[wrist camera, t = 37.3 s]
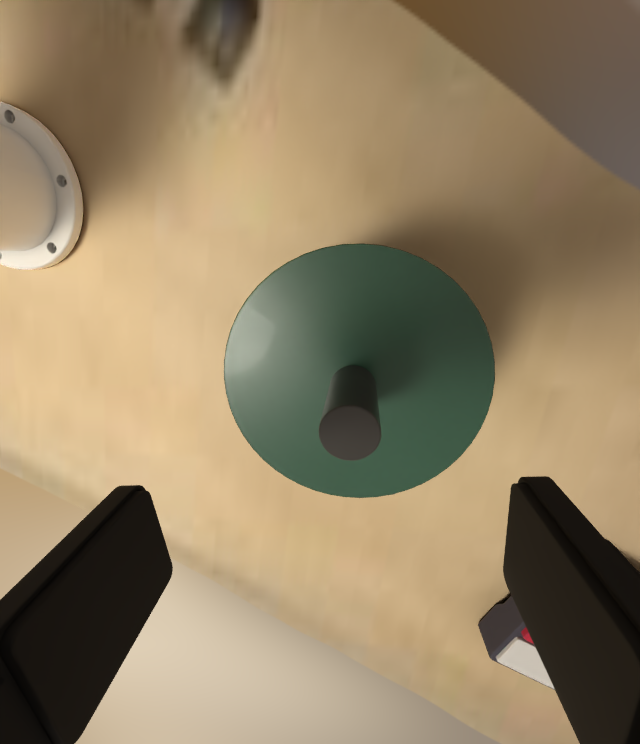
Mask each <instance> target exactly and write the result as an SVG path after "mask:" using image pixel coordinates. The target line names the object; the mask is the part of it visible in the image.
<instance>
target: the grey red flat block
mask: <svg viewBox="0 0 640 744" xmlns="http://www.w3.org/2000/svg"><path fill="white" fill-rule="evenodd" d="M639 574H640V572H639ZM478 626H479V629H480V632H481V634H482V637H483V640H484V643H485V646H486V648H487V651H488V654H489V657H490V658H491V659H492V660H494V661H496V662H498V663H500V664H502V665H504V666H506V667H508V668H510V669H512V670H514V671H516V672H518V673H521V674H523V675H525V676H527V677H529V678H531V679H533V680H535V681H537V682H539V683H541V684H543V685H545V686H547V687H550V688H552V689H554V686H553V684H552V682H551V680H550V678H549V676H548V673H547V671H546V669H545V667H544V665H543V663H542V660H541V658H540V656H539V654H538V652H537V650H536V647H535V645H534V643H533V641H532V639H531V637H530V634H529V632H528V630H527V628H526V626H525V624H524V621H523V619H522V617H521V615H520V613H519V611H518V608H517V606H516V604H515V602H514V600H513V598H512V596H510V597H509V598H508V599H507V601H506V602H505V603H503V604H496V605H495V606H494V607H493V608H492V609H491V610H490V611H489V612H488V613H487V615H486V616H485V617H484V618H483V619H482V620H481V621H480V622H479V624H478ZM554 690H555V689H554Z"/></svg>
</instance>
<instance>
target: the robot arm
mask: <svg viewBox="0 0 640 744" xmlns="http://www.w3.org/2000/svg"><path fill="white" fill-rule="evenodd" d="M82 220H83V201H82V192H81V188H80V184H79V180H78V177H77V174H76V172H75V169H74V167H73V164H72V162H71V160H70V158H69V157H68V155H67V153H66V152H65V150H64V148H63V146H62V145H61V144H60V143H59V141H58V140H57V139H56V138H55V136H54V135H53V134H52V133H51V132H50V131H49V130H48V129H47V128H46V127H45V126H44V125H43V124H42V123H41V122H40V121H38V120H37V119H35V118H34V117H32V116H31V115H29V114H28V113H26V112H25V111H23V110H20V109H18V108H16V107H14V106H12V105H9V104H7V103H3V102H0V264H1V265H4V266H6V267H10V268H15V269H19V270H35V269H43V268H47V267H50V266H53V265H55V264H57V263H59V262H60V261H61V260H63V259H64V258H65V257H66V256H67V255H68V254H69V253H70V252H71V250H72V249H73V248H74V246H75V244H76V242H77V240H78V238H79V234H80V231H81V227H82ZM172 568H173V567H172V562H171V559H170V556H169V553H168V549H167V546H166V543H165V540H164V537H163V533H162V530H161V527H160V524H159V521H158V517H157V514H156V511H155V508H154V504H153V501H152V498H151V495H150V493H149V492H148V491H146V490H145V488H144V487H143V486H140V485H134V486H119V487H117V488H115V489H114V490H113V491H112V492H111V493H110V494H109V495H108V496H107V497H106V498H105V499H104V500H103V501H102V502H101V503H100V504H99V505H98V506H97V507H96V508H95V509H94V510H93V511H91V512H90V513H89V514H88V515H87V516H86V517H85V518H84V519H83V520H82V521H81V522H80V523H79V524H78V525H77V526H76V527H75V528H74V529H73V530H72V531H71V532H70V533H69V534H68V535H67V536H66V537H65V538H64V539H63V540H62V541H61V542H60V543H58V544H57V545H56V546H55V547H54V548H53V549H52V550H51V551H50V552H49V553H48V554H47V555H46V556H45V557H44V558H43V559H42V560H41V561H40V562H39V563H38V564H37V565H36V566H35V567H34V568H33V569H32V570H31V571H30V572H29V573H28V574H27V575H25V577H23V578H22V579H21V580H20V581H19V582H18V583H17V584H16V585H15V586H14V587H13V588H12V589H11V590H10V591H9V592H8V593H7V594H6V595H5V596H4V597H3V598H2V599H1V600H0V744H74V743H75V742H76V741H77V740H78V739H79V737H80V736H81V735H82V733H83V731H84V730H85V728H86V726H87V724H88V723H89V721H90V719H91V717H92V716H93V714H94V712H95V710H96V709H97V707H98V705H99V703H100V702H101V700H102V698H103V696H104V695H105V693H106V691H107V689H108V688H109V686H110V684H111V682H112V681H113V679H114V677H115V675H116V674H117V672H118V670H119V668H120V667H121V665H122V663H123V661H124V659H125V658H126V656H127V654H128V653H129V651H130V649H131V647H132V646H133V644H134V642H135V640H136V638H137V637H138V635H139V633H140V631H141V630H142V628H143V626H144V624H145V623H146V621H147V619H148V617H149V616H150V614H151V612H152V610H153V609H154V607H155V605H156V603H157V602H158V600H159V598H160V596H161V595H162V593H163V591H164V589H165V588H166V586H167V584H168V582H169V580H170V578H171V575H172ZM503 572H504V578H505V581H506V584H507V587H508V589H509V591H510V593H511V596H512V598H513V600H514V602H515V604H516V606H517V608H518V611H519V613H520V615H521V617H522V619H523V621H524V624H525V626H526V628H527V630H528V632H529V634H530V637H531V639H532V641H533V643H534V645H535V647H536V650H537V652H538V654H539V656H540V658H541V660H542V663H543V665H544V667H545V669H546V671H547V673H548V676H549V678H550V680H551V682H552V684H553V686H554V689H555V691H556V693H557V695H558V697H559V699H560V701H561V704H562V706H563V708H564V710H565V712H566V714H567V717H568V719H569V721H570V723H571V725H572V727H573V730H574V732H575V734H576V736H577V738H578V740H579V743H580V744H640V574H639V572H638V571H637V570H636V569H635V568H634V567H633V566H632V565H631V564H630V562H629V561H628V560H627V559H626V558H625V557H624V556H623V555H622V554H621V552H620V551H619V550H618V549H617V548H616V547H615V546H614V545H613V544H612V543H611V542H610V541H608V540H606V539H604V538H603V537H602V535H601V534H600V533H599V532H598V531H597V530H596V529H595V527H594V526H593V525H592V524H591V523H590V522H589V521H588V520H587V518H586V517H585V516H584V515H583V514H582V513H581V512H580V511H579V509H578V508H577V507H576V506H575V505H574V504H573V503H572V501H571V500H570V499H569V498H568V497H567V496H566V495H565V494H564V492H563V491H562V490H561V489H560V488H559V487H558V486H557V485H556V483H555V482H554V481H553V480H552V479H551V478H550V477H521V478H520V479H519V481H518V483H517V484H512V486H511V494H510V504H509V514H508V524H507V535H506V545H505V555H504V566H503Z"/></svg>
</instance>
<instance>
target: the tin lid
mask: <svg viewBox="0 0 640 744" xmlns="http://www.w3.org/2000/svg"><path fill="white" fill-rule="evenodd" d="M224 380H225V388H226V394H227V398H228V402H229V405H230V409H231V411H232V414H233V416H234V419H235V421H236V423H237V425H238V427H239V429H240V430H241V432H242V434H243V436H244V437H245V438H246V440H247V441H248V443H249V444H250V445H251V447H252V448H253V449H254V450H255V451H256V452H257V453H258V454H259V456H260V457H261V458H262V459H263V460H264V461H266V462H267V463H268V464H269V465H270V466H271V467H273V468H274V469H275V470H277V471H278V472H279V473H281V474H282V475H284V476H285V477H287V478H289V479H291V480H292V481H294V482H296V483H298V484H300V485H302V486H305V487H307V488H310V489H313V490H315V491H319V492H322V493H326V494H330V495H336V496H342V497H355V498H366V497H379V496H385V495H391V494H395V493H398V492H402V491H405V490H408V489H411V488H413V487H416V486H418V485H421V484H423V483H425V482H426V481H428V480H430V479H432V478H434V477H435V476H437V475H438V474H440V473H441V472H442V471H444V470H445V469H447V468H448V467H449V466H450V465H451V464H453V463H454V462H455V461H456V460H457V459H458V458H459V457H460V456H461V455H462V454H463V453H464V451H465V450H466V449H467V448H468V447H469V445H470V444H471V443H472V441H473V440H474V438H475V437H476V435H477V433H478V432H479V430H480V429H481V427H482V424H483V422H484V420H485V418H486V415H487V413H488V410H489V406H490V403H491V399H492V395H493V388H494V381H495V361H494V355H493V349H492V343H491V340H490V337H489V334H488V330H487V327H486V325H485V323H484V321H483V319H482V317H481V315H480V313H479V311H478V309H477V308H476V306H475V305H474V303H473V302H472V300H471V299H470V298H469V296H468V295H467V293H466V292H465V291H464V290H463V289H462V288H461V287H460V286H459V285H458V284H457V283H456V282H455V281H454V280H453V279H452V278H451V277H449V276H448V275H447V274H446V273H444V272H443V271H442V270H441V269H439V268H438V267H436V266H434V265H433V264H431V263H429V262H428V261H426V260H424V259H422V258H420V257H418V256H415V255H413V254H410V253H408V252H405V251H403V250H399V249H395V248H391V247H387V246H383V245H373V244H342V245H336V246H331V247H325V248H321V249H318V250H315V251H312V252H309V253H306V254H303V255H301V256H299V257H297V258H295V259H293V260H291V261H289V262H287V263H286V264H284V265H283V266H281V267H280V268H278V269H277V270H275V271H274V272H272V273H271V274H270V275H269V276H268V277H267V278H266V279H265V280H263V281H262V282H261V283H260V284H259V285H258V286H257V287H256V289H255V290H254V291H253V292H252V293H251V295H250V296H249V297H248V298H247V300H246V301H245V303H244V304H243V306H242V308H241V309H240V311H239V312H238V314H237V317H236V319H235V321H234V323H233V326H232V328H231V331H230V334H229V338H228V341H227V345H226V352H225V359H224Z"/></svg>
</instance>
